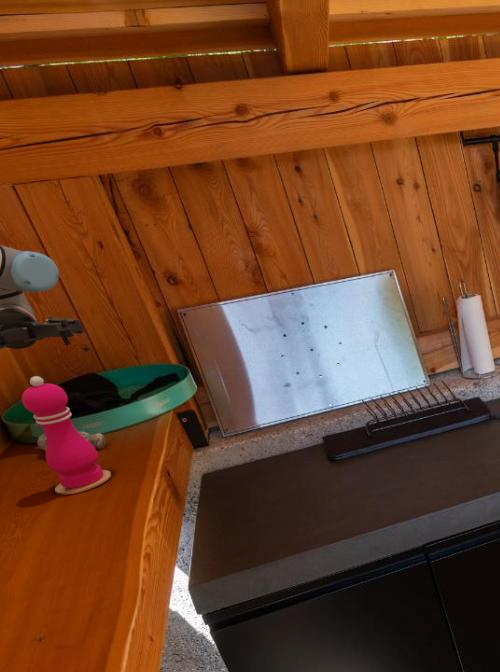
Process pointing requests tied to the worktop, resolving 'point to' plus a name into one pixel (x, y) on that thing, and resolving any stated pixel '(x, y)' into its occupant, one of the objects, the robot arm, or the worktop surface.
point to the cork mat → (65, 491)
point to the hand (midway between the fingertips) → (18, 348)
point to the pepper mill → (62, 435)
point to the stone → (95, 439)
